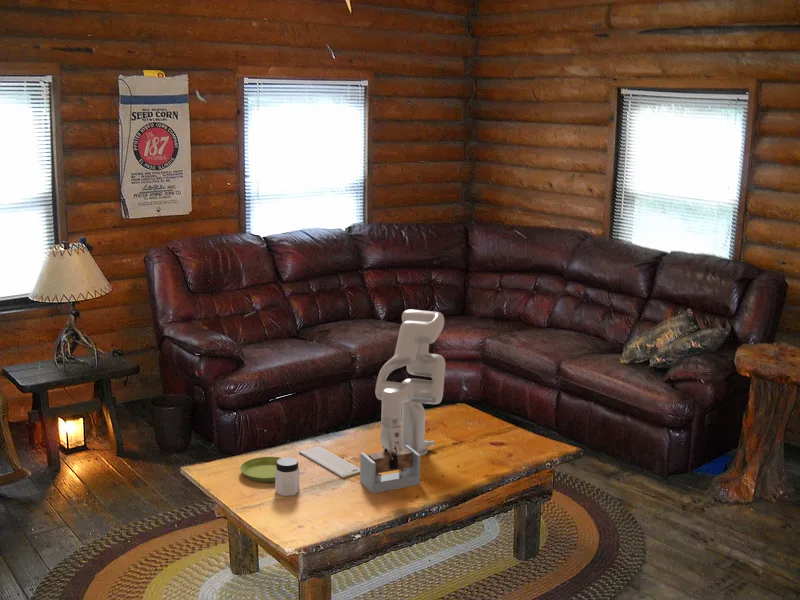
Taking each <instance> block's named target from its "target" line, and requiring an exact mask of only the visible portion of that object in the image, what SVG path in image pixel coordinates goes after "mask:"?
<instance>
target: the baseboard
mask: <svg viewBox="0 0 800 600" xmlns="http://www.w3.org/2000/svg"><path fill="white" fill-rule="evenodd" d="M298 452H299V454H300V455H301V456H304V457H306V458H307V459H309V460H311V461H312V462H314V463H315V464H317V465H319V466H321V467H322V468H324V469H326V470H327V471H329V472H330V473H333V474H335V476H338V477H340V478H342V479H344V480H345V479H347V478H350V477H353V476H356V475H357V476H358V475H360V467H358V466H356V465H354V464H352V463H350V462H348V461H347V460H345V459H344V458H341V457H340V456H338V455H336V454H334V453H332V452H331V451H330V450H328V449H325V448H323V447H321V446H318V445H317V446H315V447H311V448H307V449H303V450H300V451H298Z"/></svg>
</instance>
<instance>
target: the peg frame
mask: <svg viewBox="0 0 800 600" xmlns="http://www.w3.org/2000/svg"><path fill="white" fill-rule="evenodd" d="M405 448H407V449H408V450H409V451H411V452H412V467H411V468H406V469H400V470H398V472H395V473H389V474H384V475H382V474H381V473H378V474H375V471H376V463H375V462H374V461H373V460H372V459H371V458H369V455H367V454H366V453H365V452H360V465H359V466H360V467H359V468H360V474H359V475H360V476H359V479H360V480H359V483H361V484H362V485H363V487H365V488H366V489H367V490H368V491H369V493H371V494H377V493H381V492H386V491H392V490H398V489H403V488H407V487H414V486H419V485H421V483H420V482H421V460H422V459H421V457H422V456H421V455H420V454H419V453H417V452H416V451H415V450H413V449H412V448H411V447H410V446H408V445H405Z"/></svg>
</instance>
